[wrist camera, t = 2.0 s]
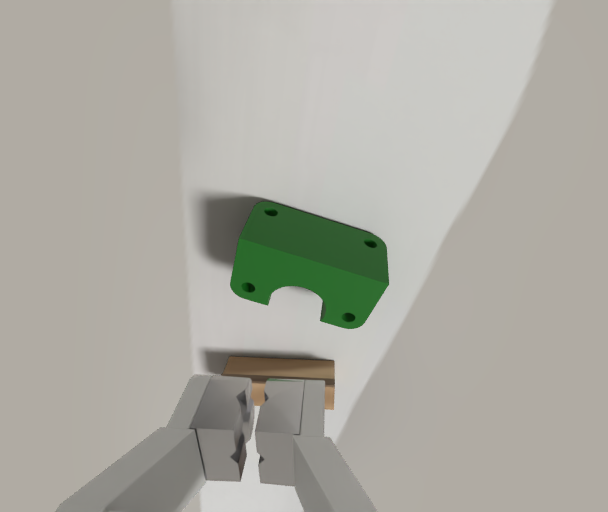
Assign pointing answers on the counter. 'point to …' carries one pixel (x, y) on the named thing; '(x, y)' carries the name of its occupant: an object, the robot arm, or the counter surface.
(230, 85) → the counter surface
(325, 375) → the stop rail
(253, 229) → the clamp
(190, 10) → the counter surface
